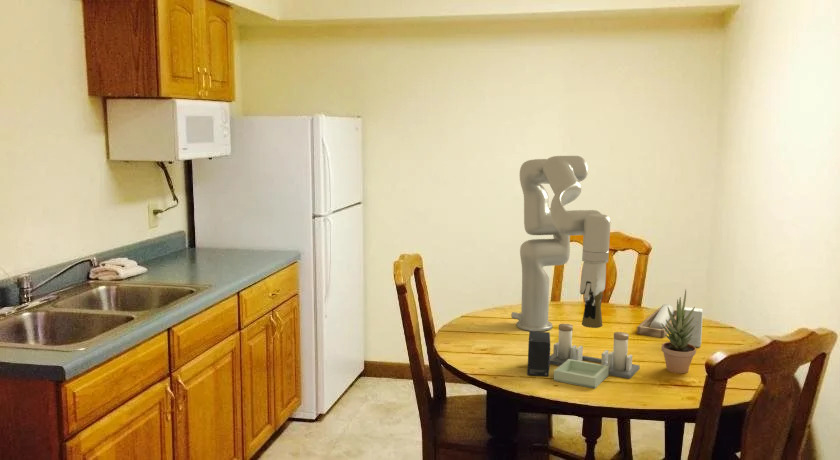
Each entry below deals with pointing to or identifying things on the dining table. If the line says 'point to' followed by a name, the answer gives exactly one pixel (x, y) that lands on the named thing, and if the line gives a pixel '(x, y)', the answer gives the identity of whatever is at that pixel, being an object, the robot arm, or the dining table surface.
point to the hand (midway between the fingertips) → (592, 315)
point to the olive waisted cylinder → (598, 318)
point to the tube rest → (646, 330)
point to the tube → (662, 317)
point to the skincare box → (698, 326)
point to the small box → (538, 353)
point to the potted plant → (678, 341)
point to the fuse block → (615, 360)
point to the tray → (581, 373)
